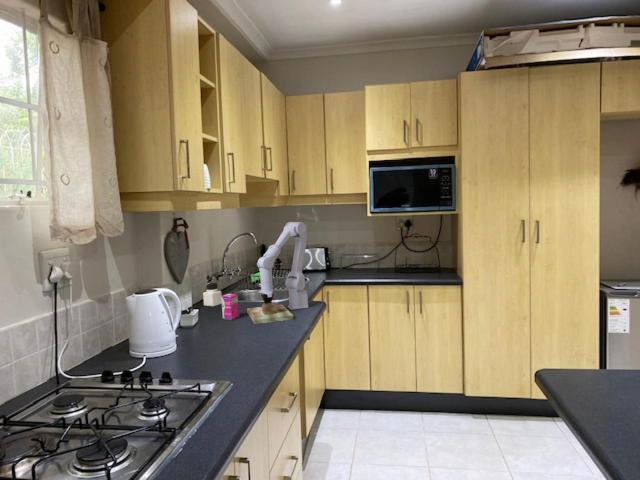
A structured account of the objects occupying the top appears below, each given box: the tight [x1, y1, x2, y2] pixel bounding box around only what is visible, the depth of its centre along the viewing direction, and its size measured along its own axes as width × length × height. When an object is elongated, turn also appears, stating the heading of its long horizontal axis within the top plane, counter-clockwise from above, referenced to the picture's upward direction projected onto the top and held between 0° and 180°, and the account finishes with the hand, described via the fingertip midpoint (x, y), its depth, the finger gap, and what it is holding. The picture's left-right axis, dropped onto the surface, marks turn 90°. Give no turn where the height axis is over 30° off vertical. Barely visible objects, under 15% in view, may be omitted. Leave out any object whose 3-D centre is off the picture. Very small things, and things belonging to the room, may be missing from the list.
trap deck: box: [246, 304, 294, 325], centre depth 223 cm, size 18×24×2 cm
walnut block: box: [261, 302, 278, 315], centre depth 221 cm, size 6×6×4 cm
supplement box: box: [221, 293, 240, 321], centre depth 221 cm, size 6×6×12 cm
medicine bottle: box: [202, 282, 223, 307], centre depth 254 cm, size 7×7×12 cm
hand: (268, 308), depth 225 cm, fingers closed
